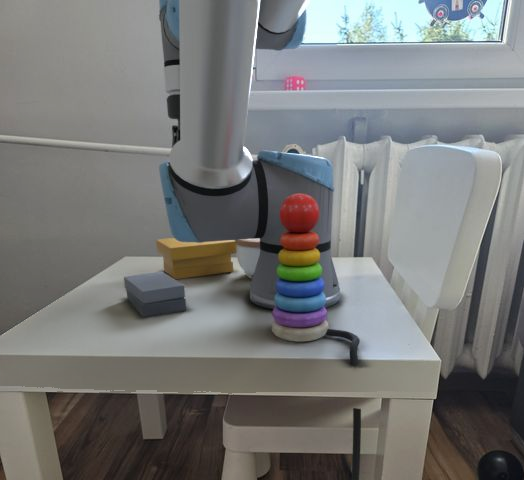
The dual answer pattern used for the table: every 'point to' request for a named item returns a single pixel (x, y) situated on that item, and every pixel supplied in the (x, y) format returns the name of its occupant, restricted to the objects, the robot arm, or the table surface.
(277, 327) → the stacking toy
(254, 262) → the white bowl
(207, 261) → the mustard pile
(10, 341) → the table surface
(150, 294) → the grey pile
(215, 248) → the mustard block
